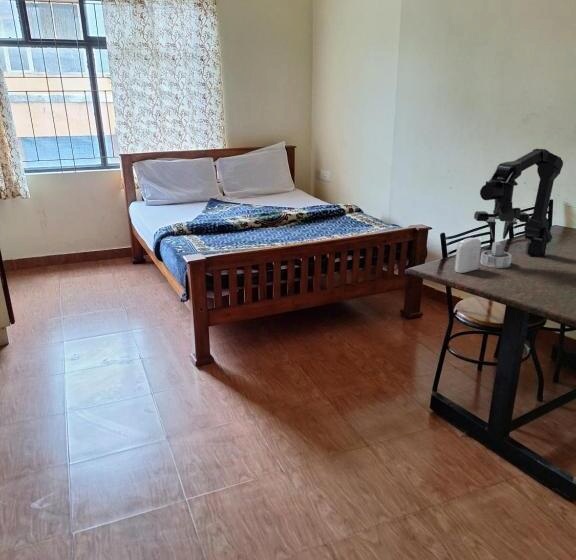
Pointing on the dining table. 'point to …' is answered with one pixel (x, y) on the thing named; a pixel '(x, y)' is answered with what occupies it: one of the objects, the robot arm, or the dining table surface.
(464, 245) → the photo printer
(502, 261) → the faceted white dish
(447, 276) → the dining table surface
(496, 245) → the grey knob
